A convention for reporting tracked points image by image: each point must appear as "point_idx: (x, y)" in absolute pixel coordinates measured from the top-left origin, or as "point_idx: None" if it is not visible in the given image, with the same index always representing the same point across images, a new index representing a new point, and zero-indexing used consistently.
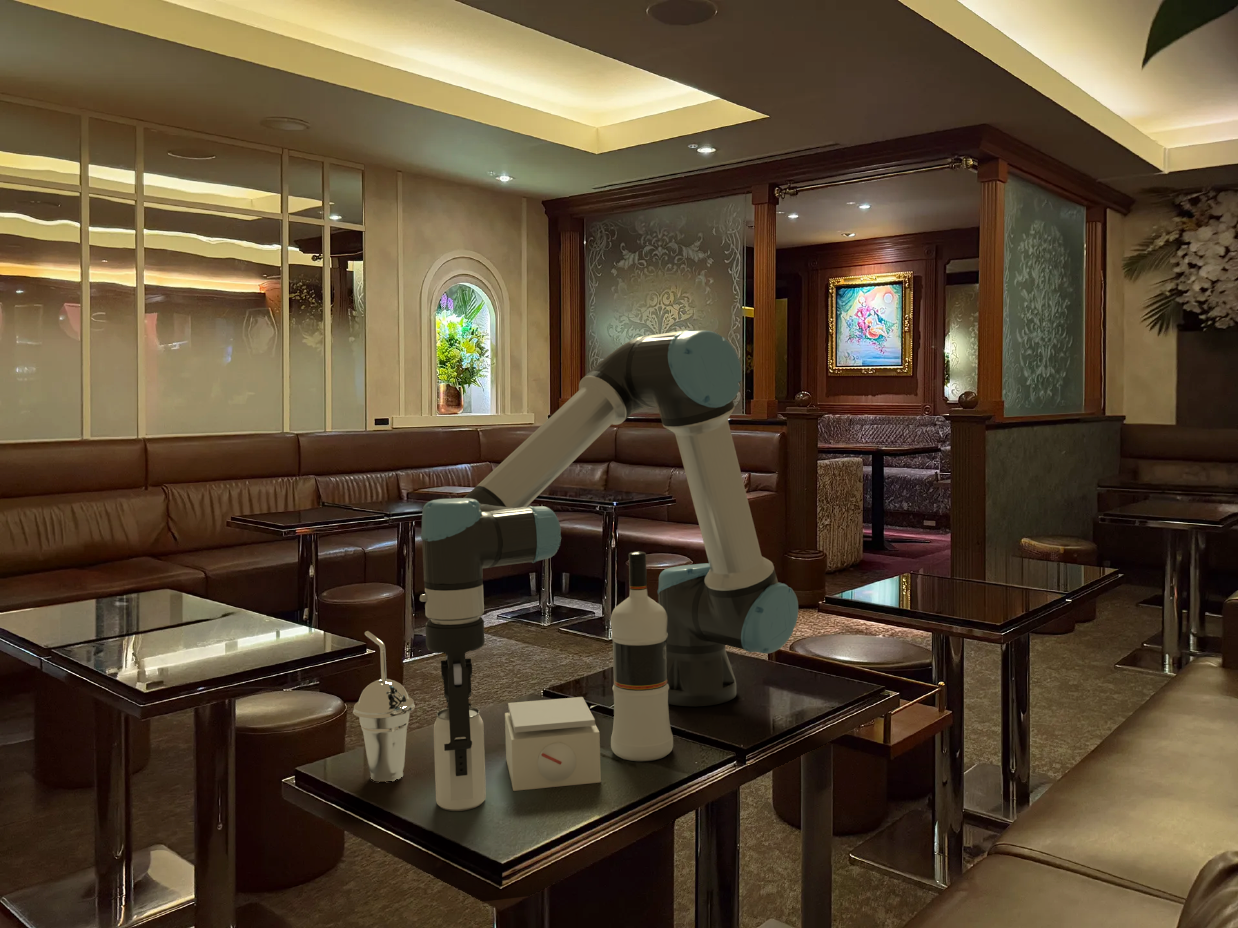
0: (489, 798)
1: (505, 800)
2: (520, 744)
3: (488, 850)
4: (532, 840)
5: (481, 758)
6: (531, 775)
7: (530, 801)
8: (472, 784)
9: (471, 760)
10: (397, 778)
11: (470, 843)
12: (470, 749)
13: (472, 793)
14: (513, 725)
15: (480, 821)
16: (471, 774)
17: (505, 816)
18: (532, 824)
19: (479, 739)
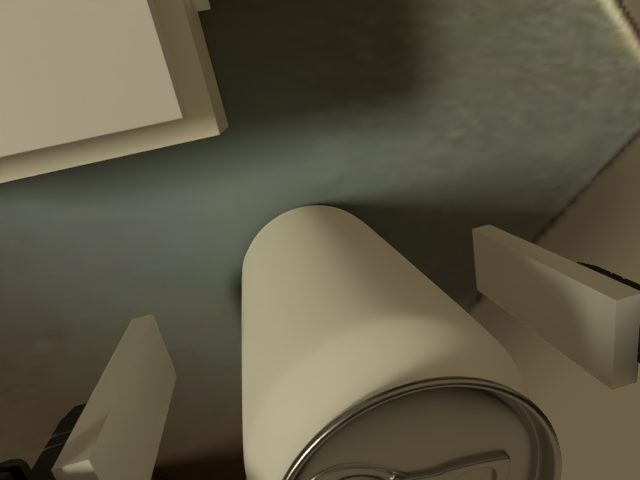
0: (289, 195)
1: (306, 142)
2: (207, 84)
3: (604, 140)
4: (580, 25)
5: (381, 249)
6: (206, 51)
7: (318, 54)
8: (517, 237)
9: (586, 268)
10: (152, 478)
11: (560, 192)
12: (631, 291)
13: (499, 229)
14: (89, 138)
15: (444, 191)
16: (542, 250)
17: (421, 125)
18: (485, 33)
19: (431, 287)
